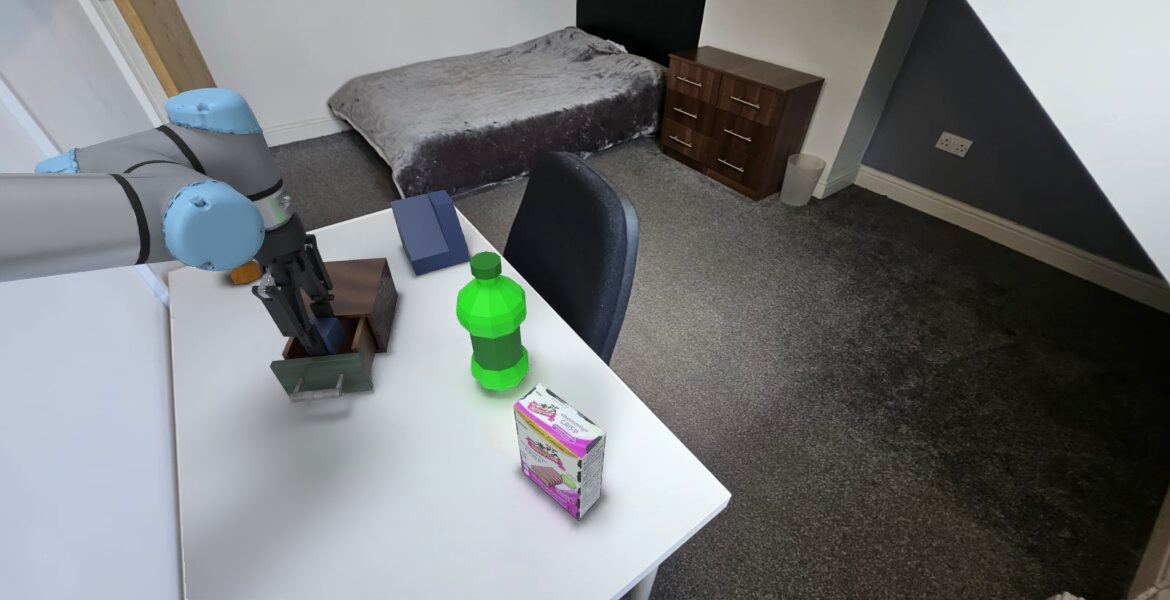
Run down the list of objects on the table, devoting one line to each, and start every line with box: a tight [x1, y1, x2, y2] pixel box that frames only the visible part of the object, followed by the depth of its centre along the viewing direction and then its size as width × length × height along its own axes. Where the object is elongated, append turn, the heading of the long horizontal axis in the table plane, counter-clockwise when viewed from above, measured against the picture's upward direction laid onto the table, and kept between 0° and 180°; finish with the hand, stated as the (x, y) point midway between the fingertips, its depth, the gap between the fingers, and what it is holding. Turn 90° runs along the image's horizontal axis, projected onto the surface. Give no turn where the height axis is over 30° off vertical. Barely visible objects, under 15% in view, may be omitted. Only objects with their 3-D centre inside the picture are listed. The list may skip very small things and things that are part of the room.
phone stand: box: [389, 189, 470, 277], centre depth 103 cm, size 12×12×12 cm
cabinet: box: [300, 257, 399, 355], centre depth 86 cm, size 16×14×10 cm
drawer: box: [269, 317, 377, 404], centre depth 77 cm, size 19×13×8 cm, turn 9°
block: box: [305, 318, 345, 355], centre depth 75 cm, size 4×4×4 cm
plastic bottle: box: [455, 250, 530, 392], centre depth 72 cm, size 10×10×25 cm
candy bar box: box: [512, 382, 607, 521], centre depth 61 cm, size 11×5×16 cm, turn 50°
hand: (326, 343), depth 76 cm, fingers closed on block, 4 cm apart
